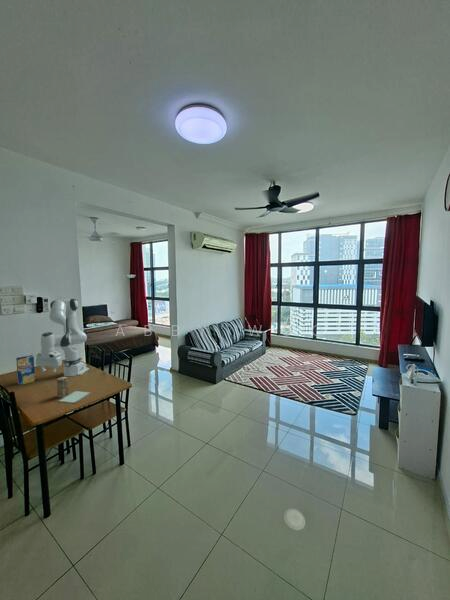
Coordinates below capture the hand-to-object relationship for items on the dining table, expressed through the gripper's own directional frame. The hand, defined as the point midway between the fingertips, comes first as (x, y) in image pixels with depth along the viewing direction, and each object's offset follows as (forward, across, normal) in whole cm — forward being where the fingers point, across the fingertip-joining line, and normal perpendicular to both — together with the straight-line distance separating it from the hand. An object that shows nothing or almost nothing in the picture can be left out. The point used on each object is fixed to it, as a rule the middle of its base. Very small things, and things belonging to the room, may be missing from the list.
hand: (49, 371), depth 186 cm
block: (+18, +12, 0) cm, 22 cm away
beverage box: (+18, -39, +16) cm, 46 cm away
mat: (+19, +22, 0) cm, 29 cm away
